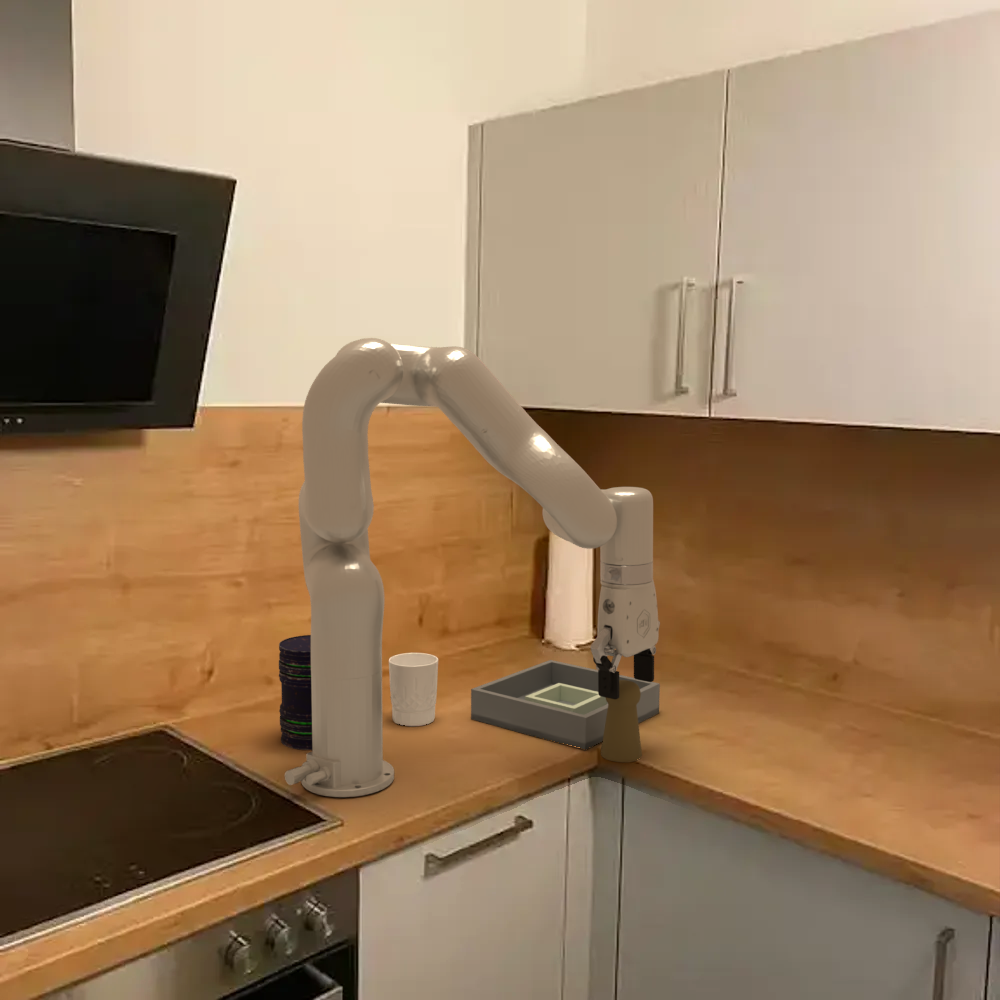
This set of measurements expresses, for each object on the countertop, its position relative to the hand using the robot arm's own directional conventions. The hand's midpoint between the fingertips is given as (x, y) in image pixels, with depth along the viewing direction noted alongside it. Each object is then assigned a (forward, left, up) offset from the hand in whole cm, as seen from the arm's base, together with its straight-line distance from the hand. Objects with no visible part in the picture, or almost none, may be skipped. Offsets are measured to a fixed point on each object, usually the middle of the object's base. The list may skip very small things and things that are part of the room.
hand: (626, 688), depth 152 cm
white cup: (-9, +34, -10) cm, 37 cm away
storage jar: (-25, +40, -10) cm, 48 cm away
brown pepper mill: (-1, 0, -10) cm, 10 cm away
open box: (+8, +16, -10) cm, 21 cm away
